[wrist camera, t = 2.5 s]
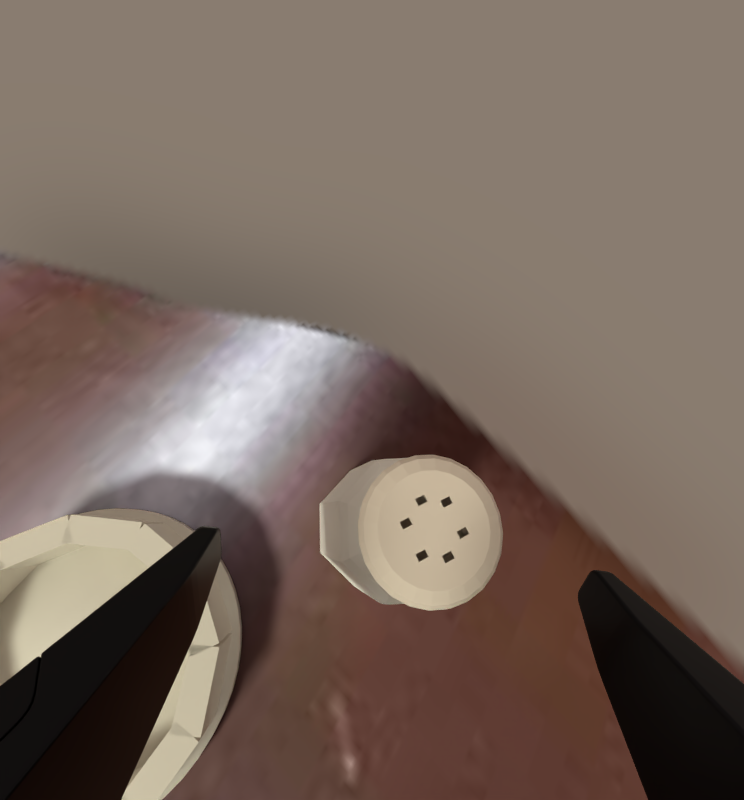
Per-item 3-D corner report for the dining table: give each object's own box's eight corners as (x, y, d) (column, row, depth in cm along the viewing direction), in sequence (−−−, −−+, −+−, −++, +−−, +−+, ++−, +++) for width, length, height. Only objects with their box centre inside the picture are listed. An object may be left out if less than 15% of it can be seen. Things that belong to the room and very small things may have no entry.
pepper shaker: (453, 553, 17) (632, 600, 7) (345, 613, 16) (365, 780, 6) (400, 447, 19) (483, 351, 8) (297, 495, 17) (240, 456, 7)
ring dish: (279, 731, 15) (269, 770, 12) (-42, 912, 12) (-128, 1000, 10) (198, 469, 17) (178, 461, 15) (-77, 577, 15) (-150, 587, 13)
